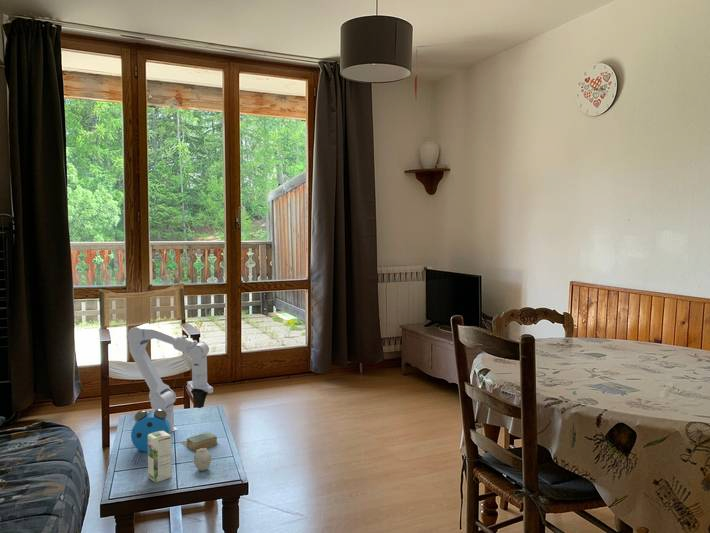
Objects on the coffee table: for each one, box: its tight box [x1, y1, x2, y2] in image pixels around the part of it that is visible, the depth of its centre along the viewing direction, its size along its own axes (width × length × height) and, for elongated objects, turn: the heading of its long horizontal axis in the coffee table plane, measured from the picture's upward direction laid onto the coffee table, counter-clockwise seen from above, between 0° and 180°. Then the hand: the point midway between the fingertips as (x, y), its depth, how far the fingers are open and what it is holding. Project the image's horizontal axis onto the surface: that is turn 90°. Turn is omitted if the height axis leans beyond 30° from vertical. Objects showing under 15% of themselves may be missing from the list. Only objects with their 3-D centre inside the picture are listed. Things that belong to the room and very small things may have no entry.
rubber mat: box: [180, 440, 220, 453], centre depth 202 cm, size 12×10×1 cm
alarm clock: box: [130, 409, 172, 453], centre depth 197 cm, size 13×6×15 cm, turn 102°
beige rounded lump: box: [192, 448, 213, 472], centre depth 181 cm, size 6×7×7 cm
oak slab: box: [186, 431, 218, 451], centre depth 200 cm, size 3×9×6 cm
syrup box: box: [147, 431, 173, 483], centre depth 175 cm, size 6×6×14 cm
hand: (200, 407), depth 212 cm, fingers closed
